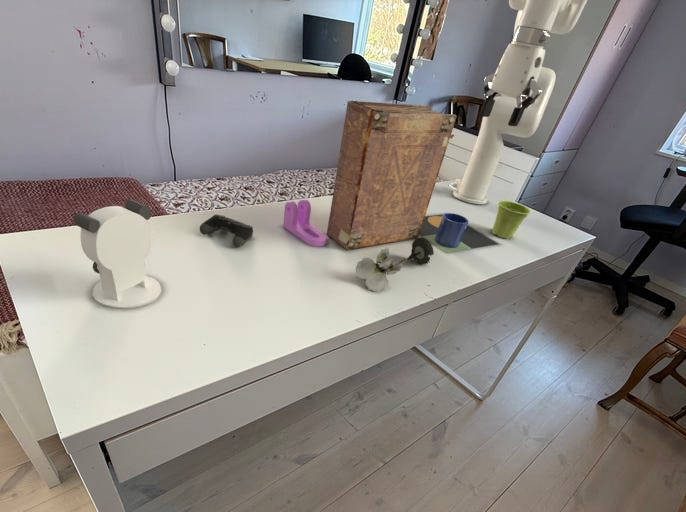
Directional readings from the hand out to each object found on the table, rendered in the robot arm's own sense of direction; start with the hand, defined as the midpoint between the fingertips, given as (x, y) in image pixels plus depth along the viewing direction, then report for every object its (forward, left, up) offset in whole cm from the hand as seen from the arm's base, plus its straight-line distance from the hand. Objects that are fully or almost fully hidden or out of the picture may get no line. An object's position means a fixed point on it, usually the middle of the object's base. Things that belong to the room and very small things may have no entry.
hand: (498, 121), depth 104 cm
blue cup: (+10, -15, -28) cm, 33 cm away
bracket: (-3, -53, -28) cm, 60 cm away
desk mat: (+4, -9, -28) cm, 30 cm away
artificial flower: (+21, -42, -28) cm, 55 cm away
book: (+2, -35, -28) cm, 45 cm away
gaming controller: (-6, -73, -28) cm, 79 cm away
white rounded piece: (+11, -98, -28) cm, 103 cm away
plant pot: (+10, +9, -28) cm, 32 cm away
